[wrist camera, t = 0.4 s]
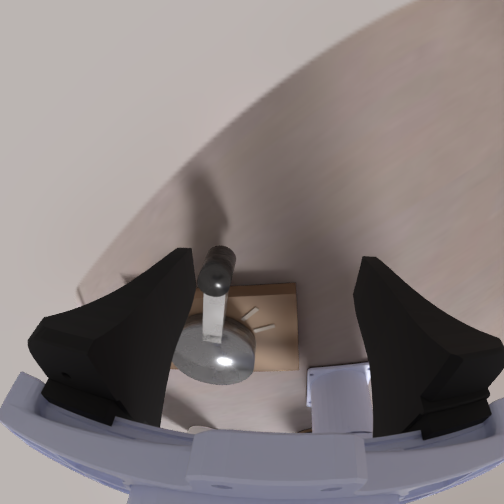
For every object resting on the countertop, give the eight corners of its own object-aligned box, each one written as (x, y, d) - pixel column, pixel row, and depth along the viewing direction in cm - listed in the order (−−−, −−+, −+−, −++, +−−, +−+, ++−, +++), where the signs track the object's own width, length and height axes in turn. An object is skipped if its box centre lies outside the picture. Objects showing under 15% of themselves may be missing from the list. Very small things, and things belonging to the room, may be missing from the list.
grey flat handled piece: (250, 370, 29) (248, 396, 26) (178, 358, 29) (170, 382, 26) (276, 253, 21) (276, 280, 18) (171, 237, 21) (155, 261, 18)
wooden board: (298, 359, 30) (299, 371, 29) (165, 358, 33) (161, 368, 31) (295, 282, 25) (296, 294, 23) (131, 289, 27) (125, 299, 26)
